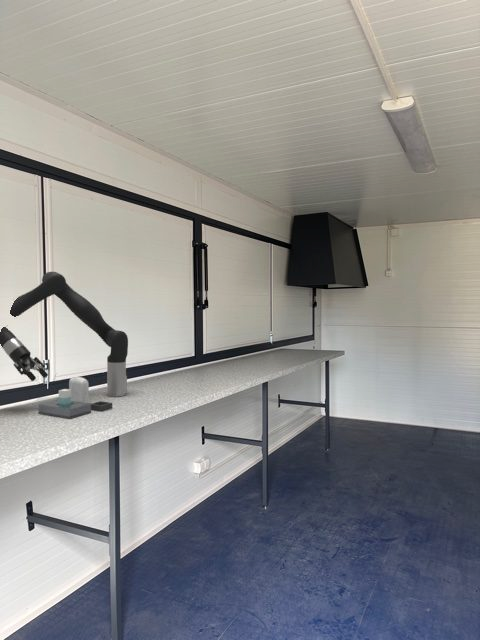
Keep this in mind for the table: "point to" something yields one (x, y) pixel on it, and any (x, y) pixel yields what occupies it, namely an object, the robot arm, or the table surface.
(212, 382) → the table surface
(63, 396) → the plug
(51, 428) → the table surface
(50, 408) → the block
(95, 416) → the table surface
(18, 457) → the table surface
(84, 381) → the photo printer
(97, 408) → the dark grey square frame
